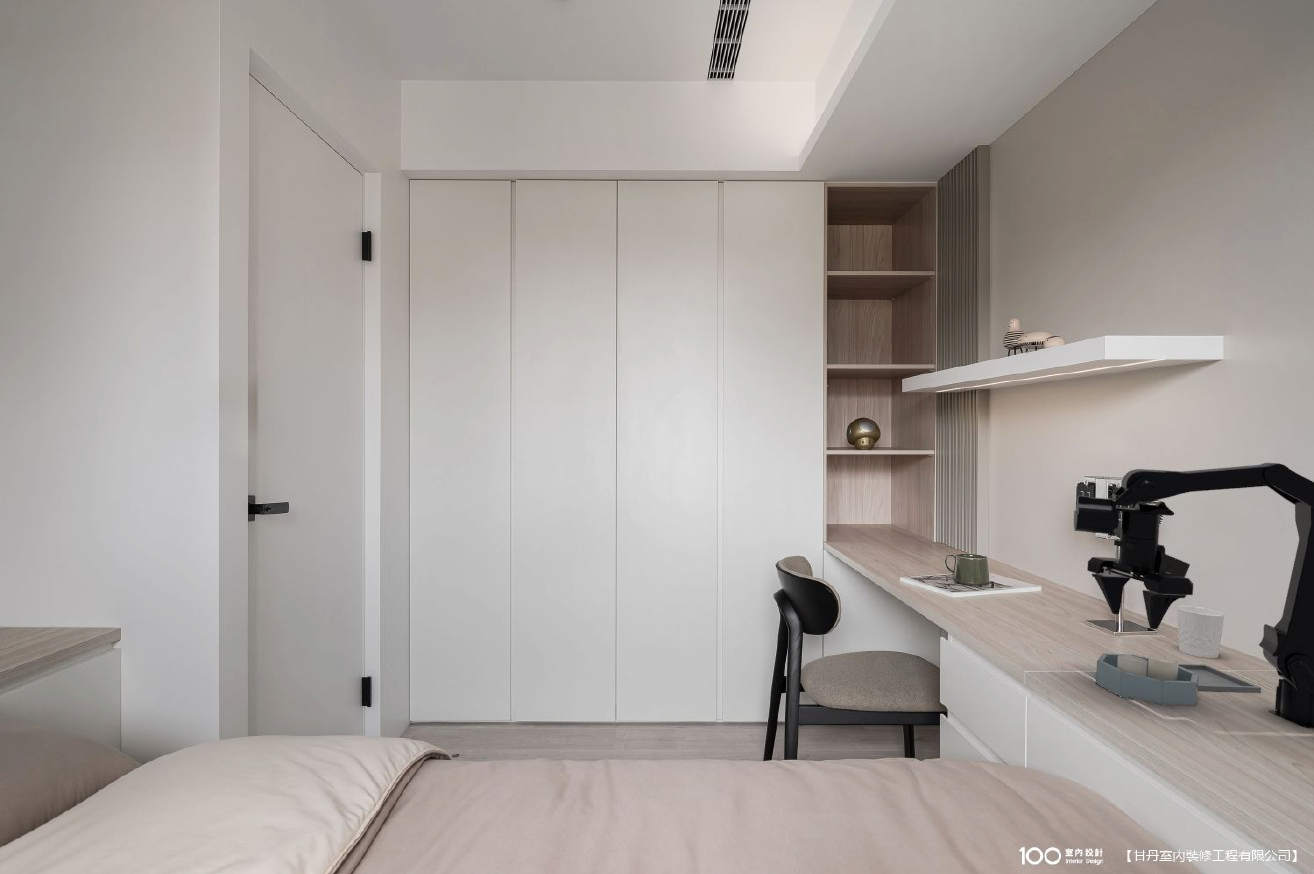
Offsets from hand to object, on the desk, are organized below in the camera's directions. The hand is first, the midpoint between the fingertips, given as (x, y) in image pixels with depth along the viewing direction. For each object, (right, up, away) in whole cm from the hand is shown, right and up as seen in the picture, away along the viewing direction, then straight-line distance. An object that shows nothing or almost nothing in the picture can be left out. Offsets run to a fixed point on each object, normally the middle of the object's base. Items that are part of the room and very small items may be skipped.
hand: (1133, 621), depth 123 cm
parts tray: (+18, -14, +7) cm, 23 cm away
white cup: (+31, -14, +24) cm, 42 cm away
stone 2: (-1, -12, 0) cm, 12 cm away
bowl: (+2, -13, 0) cm, 13 cm away
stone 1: (+5, -12, 0) cm, 13 cm away
